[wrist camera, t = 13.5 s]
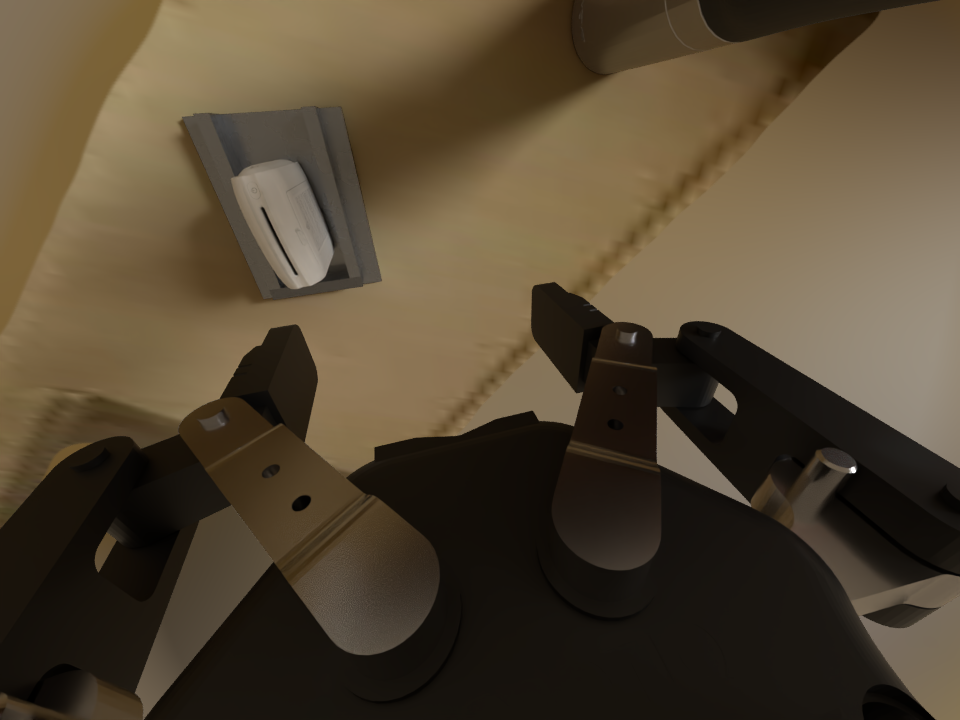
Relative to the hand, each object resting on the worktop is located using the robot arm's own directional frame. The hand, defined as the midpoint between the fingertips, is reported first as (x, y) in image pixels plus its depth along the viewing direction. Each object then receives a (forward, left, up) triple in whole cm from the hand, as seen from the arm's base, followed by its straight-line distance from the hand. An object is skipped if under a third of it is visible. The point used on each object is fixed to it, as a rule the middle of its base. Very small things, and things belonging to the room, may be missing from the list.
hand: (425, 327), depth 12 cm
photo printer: (+10, +1, -34) cm, 35 cm away
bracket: (+10, +1, -34) cm, 36 cm away
